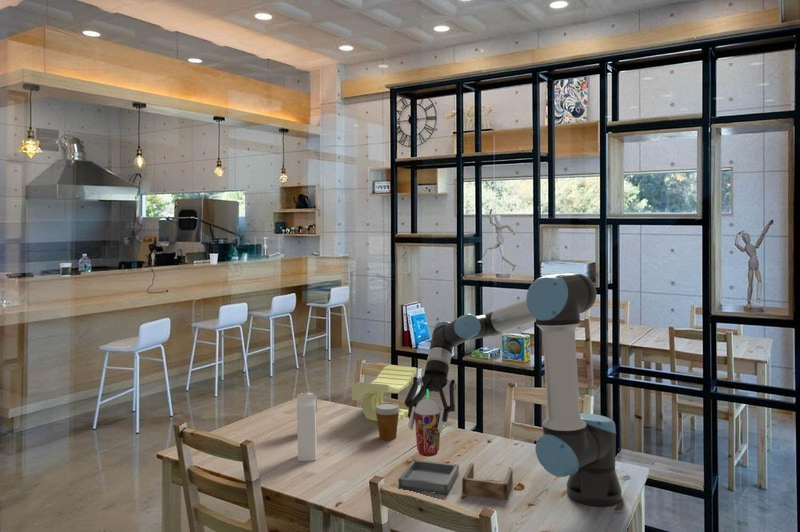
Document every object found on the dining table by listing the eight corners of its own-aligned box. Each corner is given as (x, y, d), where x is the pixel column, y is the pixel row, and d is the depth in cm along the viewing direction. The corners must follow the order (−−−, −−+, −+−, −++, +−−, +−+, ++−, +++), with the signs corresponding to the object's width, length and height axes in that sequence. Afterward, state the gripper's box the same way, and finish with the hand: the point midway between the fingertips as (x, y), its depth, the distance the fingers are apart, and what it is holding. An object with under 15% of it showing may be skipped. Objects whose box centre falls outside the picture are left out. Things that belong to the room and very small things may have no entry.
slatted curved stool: (383, 404, 256) (382, 364, 255) (416, 407, 250) (415, 367, 249) (352, 425, 229) (351, 381, 228) (389, 430, 223) (388, 384, 222)
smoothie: (439, 459, 172) (439, 394, 171) (412, 457, 174) (411, 392, 172) (443, 448, 180) (442, 386, 179) (417, 447, 182) (416, 385, 180)
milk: (315, 460, 194) (314, 396, 192) (297, 461, 193) (296, 397, 192) (316, 453, 200) (315, 391, 198) (299, 454, 199) (297, 392, 198)
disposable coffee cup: (405, 438, 214) (405, 406, 213) (383, 443, 208) (383, 411, 208) (391, 431, 222) (390, 400, 221) (370, 436, 216) (369, 405, 215)
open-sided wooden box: (512, 482, 175) (512, 467, 175) (507, 499, 164) (507, 484, 164) (470, 477, 179) (470, 462, 179) (462, 493, 168) (462, 478, 168)
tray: (458, 474, 182) (458, 464, 181) (447, 495, 167) (447, 485, 167) (413, 468, 186) (413, 459, 186) (398, 488, 172) (398, 478, 172)
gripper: (471, 373, 186) (461, 438, 172) (409, 368, 193) (394, 431, 179) (468, 360, 181) (457, 427, 167) (404, 356, 188) (388, 420, 174)
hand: (424, 429), depth 173 cm, fingers closed on smoothie, 8 cm apart
